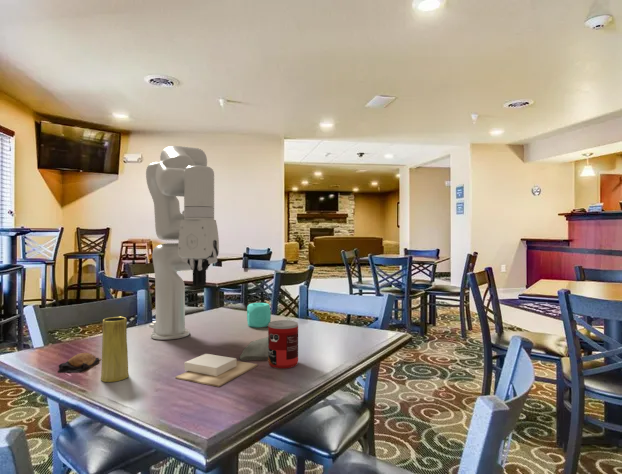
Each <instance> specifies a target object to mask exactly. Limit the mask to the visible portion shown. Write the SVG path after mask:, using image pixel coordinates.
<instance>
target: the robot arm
mask: <svg viewBox="0 0 622 474" xmlns="http://www.w3.org/2000/svg"><path fill="white" fill-rule="evenodd" d="M159 157H160V158H159V159H160V161H155V162H152V163H149V164H148V165H147V166H146V170H145V177H146V178H145V179H146V184H147V188H148V191H149V193H150V196H151V199H152V201H153V208H154V209H153V210H154V212H153V213H154V228H155V233H156V234H155V235H156V237H157V238H158V239H159V240H161V241H172V242H173V241H175V242H176V241H177V242H176V243H175V242H173V243H172V242H171V243H170V242H169V243H160V244H158V245H156V246H155V247H154V248H153V250H152V252H151V253H152V256H151V257H152V264H153V269H154V279H155V280H154V283H155V284H154V285H155V286H154V287H155V289H154V291H155V320H153V321H152V322H151V323H149V324H148V327H149V329H153V331H151V333H150V338H151V339H154V340H159V341H160V340H162V341H163V340H164V341H165V340H170V341H171V340H177V339H182V338H185V337H188V336H189V335H190V332H191V331H190V329H188V328H186V295H185V294H186V293H185V292H186V291H185V290H186V288H185V287H186V286H185V282H184V280H183V279H182V277H181V276H180V275H179V274H178V272H181V271H182V272H183V271H192V286H193V287H201V286H205V285H207V270H209V267H210V265H212V264H216V263H218V257H219V255H220V254H219V252H220V239H219V231H218V225H217V224H218V223H217V219H215V171H214V169H212V168H211V167H210V166H208V158H207V155H206V153H205V151H203V149H201V148H198V147H188V146H180V145H170V146H167V147H165V148H163V150H162V151H161V153H160V155H159ZM178 197H183V201H184V202H183V210H182V212H181V210H180V209H181V208H180V200H179V199H178Z"/></svg>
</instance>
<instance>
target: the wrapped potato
mask: <svg viewBox="0 0 622 474" xmlns="http://www.w3.org/2000/svg"><path fill="white" fill-rule="evenodd" d="M101 361H102V358H99V357H96V356H95V355H94V354H91V353H90V352H80V353H78V354H75V355H73V356H72V357H70V358H69V359H68V360H67V361H66V362H62V363H60V364H59V365H58V369H59V370H57V373H58V374H68V373H69V374H76V373H84V372H85V373H86V372H87V371H89V370H91V369H92V368H93V367H96V365H98V364H99V363H100V362H101Z"/></svg>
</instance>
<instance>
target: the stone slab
mask: <svg viewBox="0 0 622 474" xmlns="http://www.w3.org/2000/svg"><path fill="white" fill-rule="evenodd" d="M239 359H240V361H268V336H267V337H264V338H260V339H256V340H253V341H250V343H249V344H248V345H247V346H246V347H244V349H243V351H242V352H241V354H240V356H239Z"/></svg>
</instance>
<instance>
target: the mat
mask: <svg viewBox="0 0 622 474" xmlns="http://www.w3.org/2000/svg"><path fill="white" fill-rule="evenodd" d="M257 367H258V363H252V362H245V361H242V360H240V361H239V360H236V367H234V368H232V369H230V370H228V371H226V372H224V373H222V374H220V375H218V376H212V375H207V374H202V373H197V372H191V371H185V372H182V373H181V374H179V375H178V374H177V375H175V379H178V380H182V381H188V382H193V383H198V384H202V385H207V386H213V387H221V386H223V385H225V384H228V383H229V382H231V381H232V380H235V379H237V378H238V377H239V376H242V375H243V374H245V373H248V372H249V371H250V370H253V369H254V368H257Z"/></svg>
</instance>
